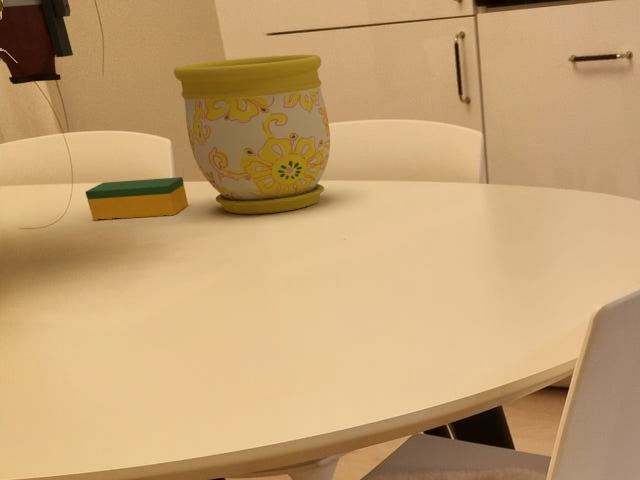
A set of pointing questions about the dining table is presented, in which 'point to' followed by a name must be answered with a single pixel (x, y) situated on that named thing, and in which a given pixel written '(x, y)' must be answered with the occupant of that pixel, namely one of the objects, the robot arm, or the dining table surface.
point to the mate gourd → (27, 42)
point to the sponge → (137, 198)
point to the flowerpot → (258, 130)
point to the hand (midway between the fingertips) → (28, 58)
